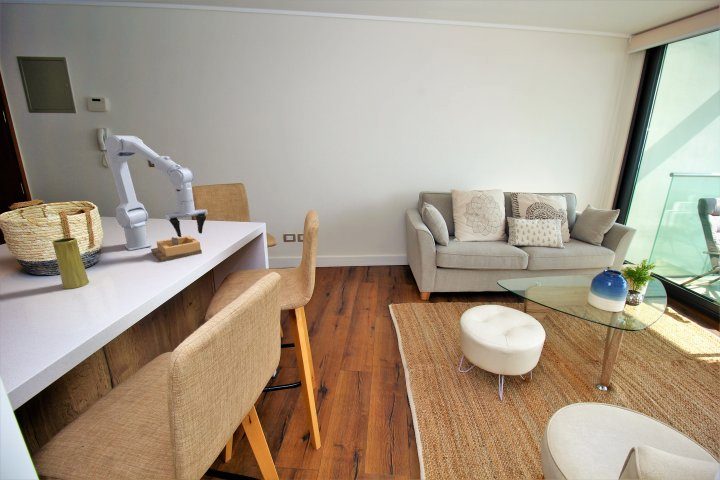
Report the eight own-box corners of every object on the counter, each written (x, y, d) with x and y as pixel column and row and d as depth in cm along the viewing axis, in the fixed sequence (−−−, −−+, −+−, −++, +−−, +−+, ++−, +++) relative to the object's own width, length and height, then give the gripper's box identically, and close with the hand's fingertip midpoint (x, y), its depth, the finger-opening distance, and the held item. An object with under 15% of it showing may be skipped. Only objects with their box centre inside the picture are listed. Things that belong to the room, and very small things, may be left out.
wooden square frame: (157, 248, 125) (156, 241, 124) (190, 242, 133) (189, 235, 132) (166, 256, 117) (165, 248, 116) (200, 249, 125) (199, 242, 124)
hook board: (151, 252, 125) (148, 238, 123) (189, 245, 135) (187, 231, 133) (161, 261, 116) (158, 246, 114) (201, 253, 125) (199, 238, 124)
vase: (74, 290, 93) (61, 243, 89) (57, 287, 95) (44, 242, 90) (94, 281, 99) (83, 237, 95) (78, 279, 100) (67, 236, 96)
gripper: (166, 204, 114) (172, 240, 118) (208, 199, 124) (212, 233, 128) (161, 201, 119) (167, 236, 123) (202, 197, 128) (206, 229, 132)
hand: (190, 234), depth 125 cm, fingers open, 7 cm apart
